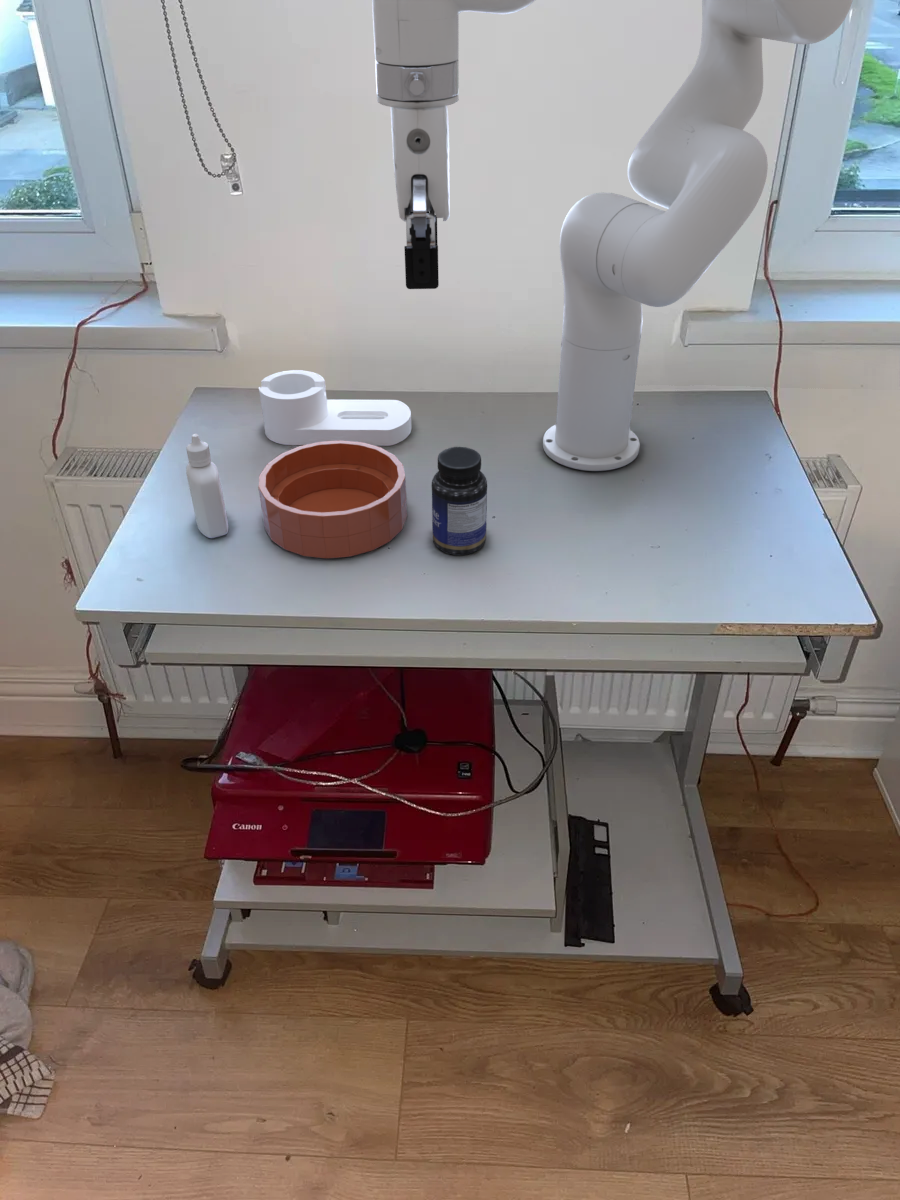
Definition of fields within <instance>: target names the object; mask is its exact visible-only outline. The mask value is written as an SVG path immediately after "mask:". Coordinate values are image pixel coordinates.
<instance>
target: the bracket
mask: <svg viewBox="0 0 900 1200" xmlns="http://www.w3.org/2000/svg"><path fill="white" fill-rule="evenodd" d="M260 384H261V386H258V393H259V400H260V406H261V407H260V408H261V414H262V421H263V427H264V433H265V436H266V438H267V439H269V440H270V441H271V442H274V443H277V444H279V445H283V446H303V445H307V444H312V443H316V442H323V441H338V440H341V441H353V442H363V443H367V444H371V445H374V446H378V447H385V446H386V447H387V446H388V447H389V446H394V445H396V444H399V443H401V442H403V441H404V440H406V439H407V438H408V437H409V436H410V434H411V433H412V412H411V408H410V407H409V406H408V405H407V404H406V403H405V402H402V401H401V400H398V399H328V397H327V389H326V388H327V387H326V380H325V378H324V377H323V376H322V375H320V374H319V373H317V372H313V371H310V370H304V369H291V370H290V369H289V370H283V371H278V372H274V373H273V374H272V373H271V374H269V375H268V376H266V377H264V378H262V380H261V381H260Z"/></svg>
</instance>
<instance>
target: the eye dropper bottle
mask: <svg viewBox="0 0 900 1200" xmlns="http://www.w3.org/2000/svg"><path fill="white" fill-rule="evenodd" d="M185 450H186V455H187V460H188V463H187V464H186V467H185V474H186V479H187V484H188V488H189V489H188V490H189V493H190V498H191V502H192V507H193V512H194V518H195V521H196V525H197V529H198V531H199V532H200V533H201V534H202V535H203V536H204V537H206V538H208V539H215V538H219V537H223V536H226V535H227V534H228V533H229V527H230V526H229V520H228V514H227V510H226V504H225V499H224V493H223V488H222V481H221V477H220V473H219V469H218V466H217V465H216V464H215V463H214V461H212V457H211V452H210V451H211V450H210V446H209V443H208V442H205V441H203V440H202V439H201V437H200V436H199V434H198V433H193V434H191V442H190V443H188V444H187V445H186V447H185Z"/></svg>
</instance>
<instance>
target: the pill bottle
mask: <svg viewBox="0 0 900 1200" xmlns="http://www.w3.org/2000/svg"><path fill="white" fill-rule="evenodd" d="M481 470H482V456H481V454H480V453H479V452H478V451H477V450H475V449H473V448H470V447H466V446H453V447H448V448H445V449H443V450H442V451H440V453H438V455H437V471H436V473H435V474H434V476H433V477H432V480H431V519H432V520H431V521H432V542H433V544H434V545H435V547H436V548H437V549H439V550H441V552H443V553H445V554H449V555H453V556H465V555H470V554H473V553H475V552H477V551H479V550H480V549H481V548H483V546H484V545H485V543H486V539H487V526H488V525H487V511H488V509H487V508H488V480H487V477H486V475H485V474H484V473H483V472H482V471H481Z"/></svg>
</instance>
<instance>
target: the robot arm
mask: <svg viewBox="0 0 900 1200" xmlns="http://www.w3.org/2000/svg"><path fill="white" fill-rule="evenodd" d="M535 1H536V0H371V7H372V27H373V28H372V29H373V44H374V45H373V46H374V47H373V49H374V60H375V61H374V67H375V68H374V69H375V85H376V87H375V89H376V102H377V103H378V104H380V105H382V106H384V107H389V108H390V124H391V125H390V127H391V147H392V162H393V174H394V183H395V193H396V201H397V209H398V215H399V216H398V217H399V219H400V220H402V221H403V222H405V228H406V230H405V231H406V232H405V233H406V234H405V235H406V237H405V238H406V245H404V272H405V287H406V288H407V289H408V290H435V289H438V288H439V286H440V285H439V284H440V283H439V245H438V219H442V222H446V221H448V220H449V219H450V217H451V213H450V211H451V203H450V202H451V201H450V199H451V197H450V195H451V194H450V193H451V192H450V190H451V189H450V188H451V187H450V182H451V181H450V177H451V176H450V171H451V170H450V167H451V166H450V126H449V125H450V123H449V110H448V106H451V105H453V104H456V103H458V101H460V96H459V95H460V93H459V92H460V91H459V87H460V85H459V84H460V82H459V80H460V78H459V75H460V74H459V73H460V71H459V68H460V67H459V66H460V65H459V63H460V61H459V15H460V14H461V13H463V12H470V13H483V14H492V15H493V14H495V15H509V14H514V13H518V12H520V11H522V10H525V9H526V8H528V7H529V6H531V5H532V4H533V3H535ZM853 1H854V0H701V21H702V22H701V23H702V24H701V38H700V47H699V51H698V56H697V59H696V61H695V64H694V65H693V68H692V70H691V71H690V73H689V75H688V76H687V77H686V79H685V80H684V81H683V82H682V85H681V86H680V87H679V88H678V90H677V91H676V92H675V94H674V95H673V97H672V98H671V99H670V100H669V101H668V103H667V104H666V105H665V106H664V107H663V110H661V112H660V113H659V114H658V116H657V117H656V118H655V120H654V121H653V122H652V123H651V125H650V126H649V127H648V129H647V130H646V132H645V133H644V134H643V135H642V137H641V138H640V139H639V141H638V142H637V144H636V145H635V147H634V149H633V151H632V153H631V155H630V157H629V160H628V163H627V179H628V182H629V184H630V186H631V188H632V189H633V191H634V192H635V193H636V194H637V195H638V196H640V197H641V198H642V199H644V200H647V201H648V202H650V203H651V204H654V205H656V206H659V207H662V208H664V209H666V210H663V209H660V208H658V207H655V206H652V205H649V204H648V203H645V202H642V201H640V200H637V199H633V198H631V197H628V196H625V195H622V194H618V193H613V192H602V191H601V192H595V193H591V194H587V195H586V196H584V197H582V198H581V199H579V200H578V201H576V202H575V204H573V206H571V207H570V209H569V210H568V212H567V214H566V216H565V218H564V220H563V222H562V225H561V229H560V234H559V260H560V265H561V266H560V268H561V273H562V275H561V276H562V284H563V317H562V330H561V331H562V332H561V344H560V360H559V374H558V375H559V376H558V388H557V389H558V390H557V403H556V419H555V424H554V425H551V426H550V427H549V428H548V429H547V430H546V431H545V433H544V435H543V437H542V448H543V451H544V453H545V454H546V455H547V456H548V457H549V458H550V459H551V460H552V461H554V462H556V463H557V464H560V465H562V466H564V467H567V468H570V469H574V470H580V471H586V472H603V471H604V472H605V471H612V470H617V469H620V468H622V467H626V465H629V464H630V463H632V462H633V461H634V460H635V459H636V458H637V457H638V455H639V453H640V447H641V444H640V439H639V437H638V436H637V434H636V433H635V432H634V431H633V430H632V429H630V428H631V419H632V412H633V406H634V397H635V396H634V394H635V386H636V380H637V378H636V377H637V372H638V371H637V370H638V364H639V363H638V362H639V357H640V356H639V355H640V347H641V346H640V345H641V339H642V333H643V332H642V331H643V324H644V323H643V321H644V316H643V315H644V314H643V305H645V306H649V307H653V308H663V307H667V306H670V305H672V304H674V303H676V302H678V301H680V300H681V299H682V298H683V297H684V296H685V295H687V294H688V292H690V290H692V289H693V287H694V286H695V285H696V284H697V283H698V282H699V281H700V279H701V278H702V277H703V275H705V273H706V272H707V271H708V269H709V268H710V267H711V265H712V264H714V262H715V261H716V260H717V258H718V257H719V255H721V253H722V252H723V251H724V249H725V248H726V247H727V246H728V245H729V243H730V242H731V240H732V239H733V238H734V237H735V236H736V234H737V233H738V231H739V230H741V227H742V226H743V225H744V224H745V222H746V221H747V220H748V218H749V217H750V216H751V214H752V213H753V211H754V210H755V208H756V207H757V204H758V203H759V201H760V199H761V196H762V193H763V191H764V187H765V185H766V181H767V177H768V169H769V168H768V166H769V165H768V156H767V152H766V149H765V147H764V145H763V144H762V143H761V141H760V140H759V139H758V138H757V137H756V136H755V135H753V134H751V132H748V131H746V130H744V129H745V128H746V126H747V125H748V124H749V122H750V121H751V119H752V118H753V116H754V115H755V113H756V112H757V110H758V107H759V105H760V103H761V100H762V98H763V97H762V96H763V90H764V68H763V67H764V65H763V64H764V63H763V40H764V39H765V40H770V41H777V42H782V43H788V44H794V45H812V44H816V43H819V42H822V41H824V40H826V39H827V38H828V37H830V36H831V35H833V34H834V33H835V32H836V31H837V30H838V29H839V28H840V27H841V25H842V24H843V23H844V21H845V20H846V18H847V15H848V14H849V12H850V9H851V6H852V3H853Z"/></svg>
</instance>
